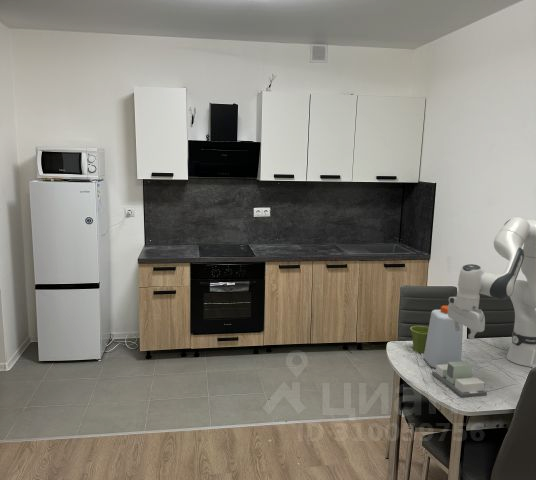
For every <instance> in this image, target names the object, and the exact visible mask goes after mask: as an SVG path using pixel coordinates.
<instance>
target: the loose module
mask: <svg viewBox="0 0 536 480" xmlns="http://www.w3.org/2000/svg"><path fill="white" fill-rule="evenodd" d="M473 367H474V365H473V364H472V363H470V362H469V361H467V360H462V361H457V362H448V367H447V376H446V380H447V381H449V382H450V383H451V384H455V379H463V378H473V377H472V376H473V369H474V368H473Z"/></svg>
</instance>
